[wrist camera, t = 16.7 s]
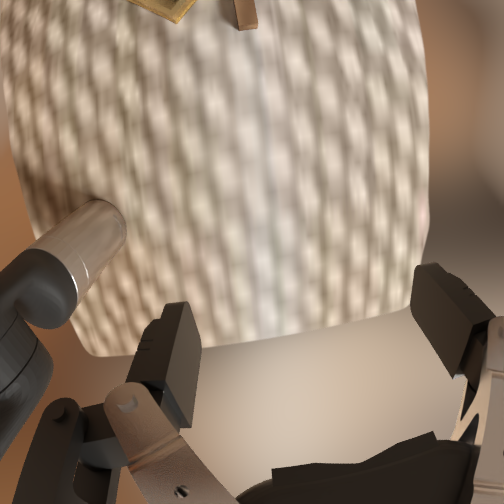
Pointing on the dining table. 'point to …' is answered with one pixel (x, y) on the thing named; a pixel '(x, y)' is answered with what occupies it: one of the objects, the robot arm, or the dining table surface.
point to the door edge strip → (246, 14)
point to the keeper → (166, 8)
